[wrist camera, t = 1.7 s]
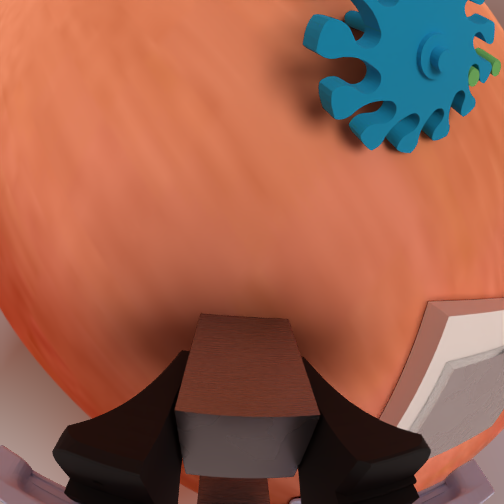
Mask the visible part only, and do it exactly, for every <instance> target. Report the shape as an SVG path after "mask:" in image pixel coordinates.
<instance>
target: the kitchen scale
mask: <svg viewBox="0 0 504 504" xmlns="http://www.w3.org/2000/svg"><path fill="white" fill-rule="evenodd" d="M503 409H504V298H492V299H476V300H455V301H428V304H427V307H426V310H425V314H424V317H423V320H422V323H421V326H420V329H419V332H418V334H417V337H416V340H415V343H414V345H413V348H412V350H411V353H410V355H409V358H408V360H407V363H406V365H405V367H404V370H403V372H402V374H401V377H400V379H399V381H398V383H397V385H396V387H395V389H394V391H393V394H392V396H391V398H390V400H389V402H388V403H387V405H386V407H385V409H384V411H383V413H382V415H381V417H380V418H379V420H381V421H383V422H386V423H388V424H390V425H393V426H395V427H398V428H401V429H404V430H407V431H411V432H414V433H418V434H421V435H422V436H423V438H424V439H425V441H426V443H427V444H428V446H429V448H430V449H431V454H430V456H429V458H431V457H434V456H436V455H438V454H441V453H443V452H445V451H447V450H449V449H451V448H453V447H455V446H457V445H459V444H461V443H463V442H465V441H467V440H469V439H471V438H472V437H474V436H476V435H478V434H479V433H481V432H483V431H484V430H486V429H488V428H489V427H491V426H492V425H493V424H494V422H495V421H496V419H497V418H498V417H499V415H500V414H501V412H502V411H503ZM429 458H428V459H429Z"/></svg>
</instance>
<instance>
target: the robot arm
mask: <svg viewBox="0 0 504 504" xmlns="http://www.w3.org/2000/svg"><path fill="white" fill-rule="evenodd" d="M189 354H190V351H183V350H182V351H181V352H180V353H179V354H178V356H177V357H176V358H175V359H174V360H173V361H172V363H171V364H170V365H169V366H168V367H167V368H166V369H165V370H164V371H163V372H162V373H161V374H160V375H159V376H158V377H157V378H156V379H155V380H154V381H153V382H152V383H151V384H150V385H149V386H147V387H146V388H145V389H144V390H143V391H141V392H140V393H139V394H137V395H136V396H135V397H133V398H132V399H130V400H129V401H127V402H126V403H124V404H122V405H121V406H119V407H117V408H115V409H113V410H111V411H109V412H107V413H105V414H103V415H100V416H98V417H95V418H93V419H90V420H87V421H84V422H80V423H76V424H73V425H69V426H67V428H66V429H65V430H64V432H63V433H62V435H61V437H60V438H59V440H58V442H57V444H56V446H55V448H54V449H53V451H52V452H53V456H54V458H55V460H56V462H57V463H58V464H59V466H60V467H61V468H62V469H63V471H64V472H65V473H66V474H67V475H68V476H69V478H70V480H69V482H68V484H67V486H66V487H64V486H62V485H59V484H57V483H55V482H53V481H52V480H50V479H48V478H46V477H44V476H42V475H40V474H39V473H37V472H35V471H33V470H32V468H31V467H30V466H29V465H28V464H27V462H26V461H25V460H23V459H22V458H21V457H20V456H18V455H17V454H15V453H14V452H12V451H11V450H9V449H8V448H6V447H5V446H3V445H1V446H0V501H1V502H3V503H4V504H178V495H179V483H180V473H181V464H182V452H181V447H180V441H179V435H178V429H177V423H176V416H175V407H176V403H177V399H178V395H179V391H180V387H181V383H182V380H183V376H184V372H185V368H186V365H187V361H188V357H189ZM301 358H302V361H303V364H304V367H305V370H306V373H307V376H308V379H309V382H310V385H311V388H312V391H313V394H314V397H315V400H316V403H317V406H318V409H319V412H320V417H319V420H318V422H317V425H316V427H315V430H314V432H313V435H312V437H311V439H310V442H309V444H308V446H307V449H306V451H305V453H304V456H303V458H302V460H301V462H300V464H299V466H298V472H299V482H300V495H301V498H296V499H292V500H291V501H290V503H289V504H482V503H483V502H484V501H485V500H487V499H488V498H489V497H490V496H492V495H493V494H494V492H495V490H494V489H493V487H492V486H491V484H490V482H489V481H488V480H487V478H486V476H485V475H484V473H483V472H482V470H481V469H480V467H479V466H478V464H477V463H476V461H475V460H474V459H472V460H470V461H468V462H467V463H465V464H463V465H461V466H460V467H458V468H456V469H455V470H454V471H452V472H451V473H450V474H449V475H448V476H447V477H446V478H445V480H443V481H441V482H439V483H437V484H435V485H433V486H431V487H429V488H427V489H424V490H422V491H420V492H418V493H417V491H416V489H415V487H414V485H413V484H415V483H416V478H415V476H414V474H415V473H416V472H417V471H418V470H419V469H420V468H421V467H422V466H423V465H424V464H425V462H426V461H427V460H428V458H429V456H430V454H431V449H430V448H429V446H428V444H427V443H426V441H425V439H424V438H423V436H422V435H421V434H418V433H414V432H411V431H407V430H404V429H401V428H398V427H395V426H393V425H390V424H388V423H386V422H383V421H381V420H379V419H377V418H375V417H373V416H372V415H370V414H368V413H366V412H365V411H363V410H361V409H360V408H358V407H357V406H355V405H354V404H352V403H351V402H350V401H348V400H347V399H346V398H344V397H343V396H342V395H341V394H340V393H338V392H337V391H336V390H335V389H334V388H333V387H332V386H331V385H330V384H328V383H327V382H326V381H325V380H324V379H323V378H322V377H321V375H320V374H319V373H318V372H317V371H316V370H315V369H314V368H313V367H312V366H311V365H310V364H309V362H308V361H307V360H306V359H305V358H304V357H301Z"/></svg>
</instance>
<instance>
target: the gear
mask: <svg viewBox="0 0 504 504" xmlns="http://www.w3.org/2000/svg"><path fill="white" fill-rule="evenodd" d="M351 1H352V2H353V4H354V5H355V6H356V8H357V9H358V11H359V12H357V11H349V12H347V13H346V15H345V23H344V22H343V21H340V20H338V19H335V18H331V17H328V16H325V15H319V14H316V15H313V16H312V18H311V19H310V20H309V22H308V25H307V27H306V31H305V34H304V40H303V45H304V46H305V47H306V48H308V49H310V50H312V51H313V52H315V53H317V54H319V55H321V56H323V57H325V58H328V59H335V58H340V57H355V58H359V59H360V60H362V61H363V62H364V63H365V65H366V68H367V72H366V75H365V77H364V79H363V80H362V81H361V82H359V83H357V84H349V83H347V82H346V81H344V80H342V79H341V78H339V77H336V76H329V77H326V78H324V79H322V80H321V81H320V82H319V96H320V100H321V103H322V106H323V108H324V109H325V110H326V111H327V112H328V113H329V114H330V115H331V116H332V117H333V118H334V119H338V120H340V119H345V118H347V117H349V116H351V115H352V114H353V113H354V112H355V111H357V110H358V109H359V108H361V107H363V106H364V105H367V104H369V103H372V102H375V101H383V103H382V106H381V107H380V108H379V109H378V110H377V111H375V112H371V113H361V114H358V115H357V116H355V117H354V118H353V119H352V120H351V121H350V123H349V127H350V129H351V131H352V132H353V133H354V134H355V135H356V136H357V137H358V138H359V139H360V140H361V141H362V142H363V144H364V145H365V146H366V147H367V148H369V149H370V150H373V149H375V148H377V147H378V146H379V145H380V144H381V143H382V142H383V140H384V138H385V136H386V139H387V140H388V141H389V142H390V143H391V144H392V145H393V146H394V147H395V148H396V149H397V150H398V151H400V152H404V153H411V152H412V151H413V150H414V149H415V147H416V145H417V143H418V138H419V135H420V132H421V130H422V131H423V132H424V133H425V134H427V135H428V136H429V137H430V138H431V139H432V140H439V139H441V138H443V137H445V136H447V134H448V132H449V127H450V126H449V111H450V107H452V108H453V109H454V110H456V111H457V112H458V113H459V114H460V115H462V116H463V117H464V116H465V115H467V114H468V113H469V112H470V111H471V110H472V109H473V108H474V107H475V98H474V97H473V96H472V95H471V93H470V90H469V85H470V86H472V87H473V86H475V85H476V84H477V82H478V80H479V81H481V82H482V83H485V81H486V80H487V78H488V76H489V74H490V73H491V74H492V75H493V76H497V75H498V74H499V72H500V69H501V63H500V61H499V60H498V59H496V58H495V57H493V56H492V55H490V54H489V53H487V52H485V51H484V50H482V49H480V48H476V49H474V46H473V39H474V36H476V37H478V38H480V39H481V40H483V41H485V42H486V43H488V44H492V43H493V40H494V31H495V27H494V23H493V22H492V21H491V20H489V19H487V18H485V17H483V16H481V15H479V14H473V15H472V16H470V17H466V14H465V3H466V2H467V1H468V0H351ZM469 1H472V2H474V3H476V4H479V5H481V4H483V2H484V0H469ZM348 26H350V27H352V28H355V29H357V30H360V31H362V32H364V34H363V36H362V37H361V38H360V39H359V40H357V41H355V39H354V36H353V34H352V32H351V30H350V28H349V27H348ZM400 120H401V121H400ZM399 121H400V122H399Z"/></svg>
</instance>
